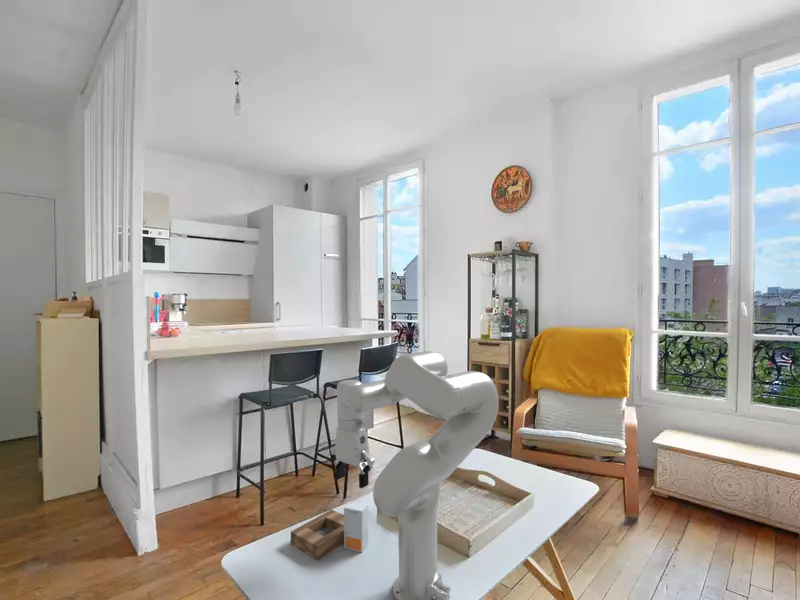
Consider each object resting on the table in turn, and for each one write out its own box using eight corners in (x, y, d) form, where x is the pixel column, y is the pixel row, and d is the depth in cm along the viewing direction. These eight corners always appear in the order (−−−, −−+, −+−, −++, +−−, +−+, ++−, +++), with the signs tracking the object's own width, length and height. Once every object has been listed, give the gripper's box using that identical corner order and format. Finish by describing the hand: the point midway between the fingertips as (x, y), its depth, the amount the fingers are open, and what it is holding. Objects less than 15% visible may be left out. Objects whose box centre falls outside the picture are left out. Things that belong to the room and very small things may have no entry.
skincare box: (343, 549, 121) (343, 507, 120) (350, 541, 125) (350, 500, 124) (362, 553, 118) (362, 511, 118) (369, 545, 122) (368, 504, 122)
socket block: (358, 534, 128) (358, 521, 128) (318, 560, 115) (317, 546, 115) (331, 521, 135) (331, 509, 135) (290, 545, 123) (290, 531, 123)
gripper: (381, 425, 119) (382, 485, 119) (340, 415, 130) (341, 470, 130) (362, 431, 113) (364, 495, 113) (321, 421, 124) (322, 479, 124)
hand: (352, 482), depth 122 cm, fingers open, 9 cm apart
